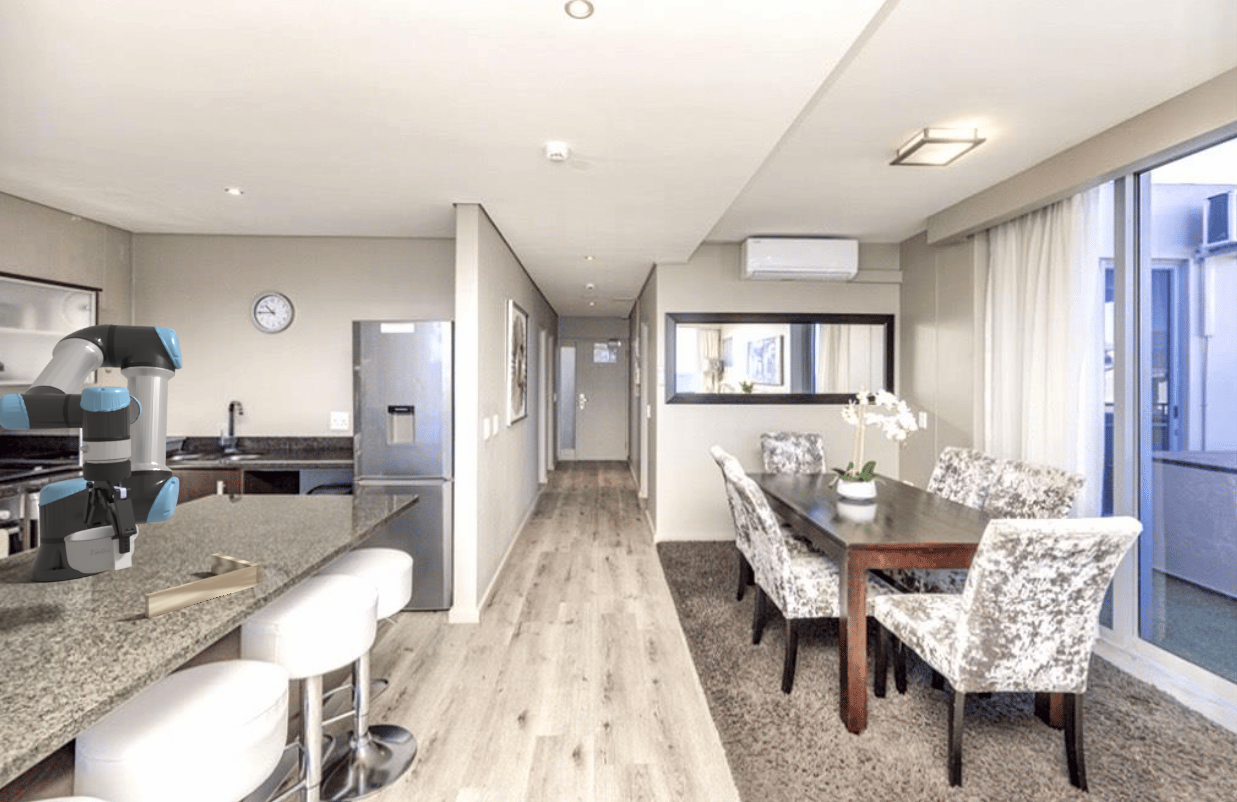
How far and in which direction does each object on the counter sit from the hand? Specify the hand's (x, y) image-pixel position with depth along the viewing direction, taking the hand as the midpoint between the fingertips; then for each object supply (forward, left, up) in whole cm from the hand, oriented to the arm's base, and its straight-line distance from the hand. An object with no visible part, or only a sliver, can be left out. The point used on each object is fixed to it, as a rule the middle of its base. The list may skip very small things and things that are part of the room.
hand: (109, 563), depth 120 cm
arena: (+5, +12, -9) cm, 16 cm away
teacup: (0, 0, -1) cm, 1 cm away
